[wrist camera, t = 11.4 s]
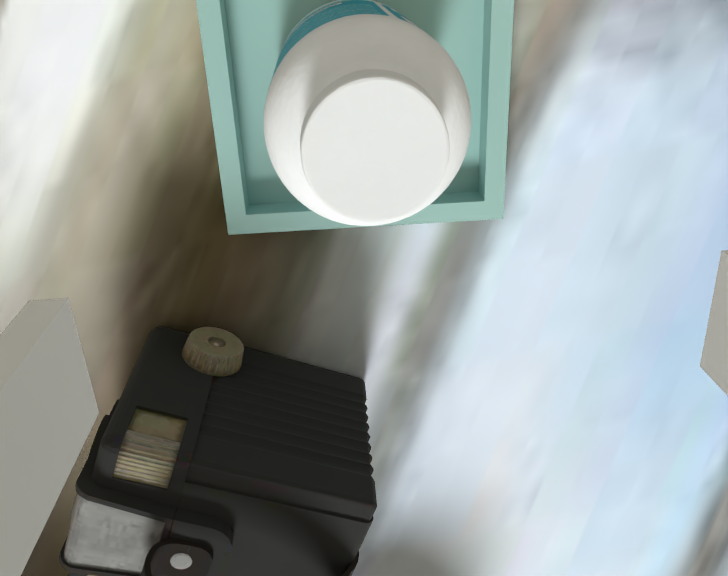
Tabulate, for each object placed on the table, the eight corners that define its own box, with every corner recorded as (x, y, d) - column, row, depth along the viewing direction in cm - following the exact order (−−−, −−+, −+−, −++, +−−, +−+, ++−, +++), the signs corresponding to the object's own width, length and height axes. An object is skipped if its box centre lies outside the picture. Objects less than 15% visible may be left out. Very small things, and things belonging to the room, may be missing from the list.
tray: (233, 219, 37) (228, 234, 35) (194, -77, 31) (185, -79, 29) (493, 204, 37) (503, 218, 35) (506, -91, 31) (518, -94, 29)
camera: (146, 297, 39) (51, 482, 25) (378, 362, 41) (406, 560, 28) (109, 446, 43) (12, 671, 29) (322, 495, 46) (322, 723, 32)
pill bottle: (266, 138, 34) (235, 240, 22) (290, -20, 31) (271, -2, 19) (411, 167, 35) (457, 280, 23) (449, 17, 32) (525, 56, 20)
